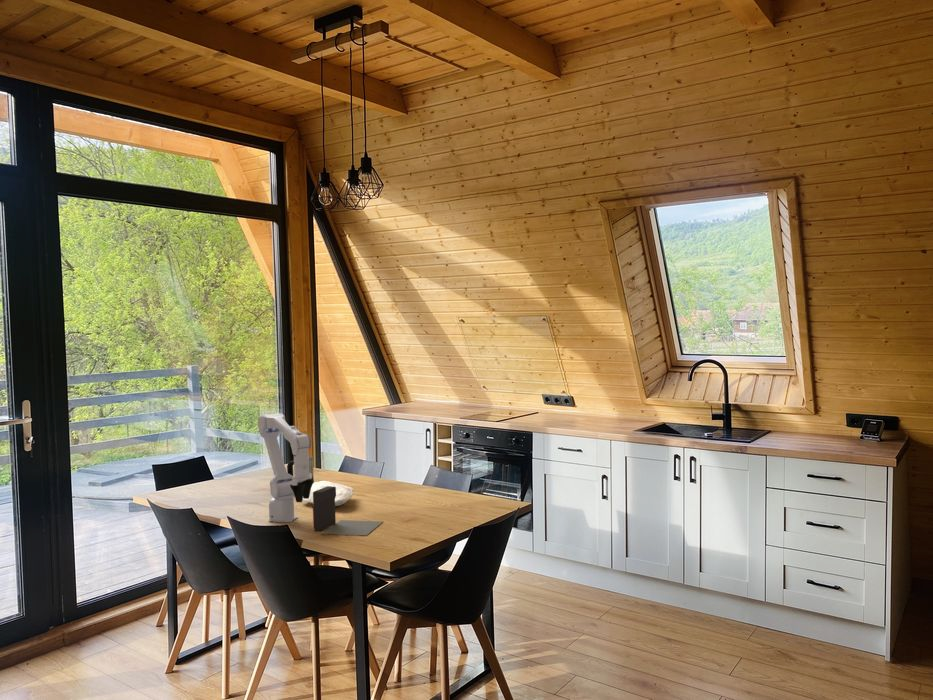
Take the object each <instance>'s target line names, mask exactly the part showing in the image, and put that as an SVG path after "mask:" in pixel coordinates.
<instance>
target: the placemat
mask: <svg viewBox="0 0 933 700" xmlns="http://www.w3.org/2000/svg"><path fill="white" fill-rule="evenodd" d="M383 523H384V521H381V520H380V521H377V520H375V521H374V520H351V519H350V520H345V519H342V520H341V519H340V520H339V521H337V522H336V524H334V525H332V526H330V527H328V528H326V529H324V530H323V531H322V532H320V535H321V534H324V535H325V534H326V535H325V536H329V535H328V534H331V535H330V536H348V535H360V536H359V537H367V536H368V535H370V534H371V533H372V532H373V531H374V530H376V529H377V528H378V527H379V526H380V524H381V525H382V524H383ZM375 528H376V529H375ZM371 531H372V532H371ZM370 532H371V533H370ZM332 534H333V535H332ZM361 535H362V536H361Z"/></svg>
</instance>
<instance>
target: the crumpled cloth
mask: <svg viewBox="0 0 933 700" xmlns="http://www.w3.org/2000/svg"><path fill="white" fill-rule="evenodd" d="M327 486H332V487H336V497H335V507H337V506H342V505H343V504H346V503H347V502H348V501H350V500H351V498H352V497H353V496H354V492H355V489H354V488H353V487H352V486H348V485H347V486H346V485H345V484H342V483H337V482H332V481H328V480H320V481H314V483H313V484H312V487H311V491H310V496H309V499H304V498H303V500H302V502H304V503H305V502H306V503H311V504H313V492H314V491H317V490H319V489H322V488H325V487H327Z"/></svg>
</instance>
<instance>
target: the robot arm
mask: <svg viewBox="0 0 933 700" xmlns="http://www.w3.org/2000/svg"><path fill="white" fill-rule="evenodd" d="M257 428H258V431H259V434H260V437H261V438H263V439H264V443H265V447H266V451H267V455H268V458H269V460H270V461H269V462H270V465H271V469H272V471H273V477H272V478H271V480H270V481H269V487H270V488H269V489H270V490H269V492H270V495H271V497H272V498H271V499H270V500H269V503H268V517H269V518H268V519H269V520H268V522H270V521H273V523H275V522H276V523H278V522H279V523H291V522H292V521H294V520H296V519H298V518H299V516H297V515H295V502H296V503H303V501H302V500H303V498H304V499H309V496H310V491H311V487H312V484H313V482H314V483H315V480H313V479H314V478H313V479H312V473H309V457H310V454H309V453H310V452H309V449H310V448H311V446H312V439H311V436H310V435H309V434H308V433H302V432H301V431H300V430H299V429H298V428H297V427H296V426H295V425H289V424H288V423H287V421H286V416H285V415H284V413H281V412H278V413H273V414H272V413H270V414H259V416H258V418H257ZM282 433H283V434H282ZM280 435H283V438H284V439H285V440H286V441H288V442H289V443H290V447H291V452H292V455H293V460H294V464H293V476H292V475H290V474H288V473H287V467H286V465H285V461H284V458H283V453H282V450H281V447H280V444H279V440H278V437H279V436H280ZM294 498H295V501H294Z"/></svg>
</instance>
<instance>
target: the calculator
mask: <svg viewBox="0 0 933 700" xmlns="http://www.w3.org/2000/svg"><path fill="white" fill-rule="evenodd" d="M335 497H336V487H332V486H327V487H325V488H322V489H319V490H317V491H314V492H313V503H312V517H313V518H312V519H313V521H312V523H313V524H312V525H313V530H314V531H316V532H317V531H318V532H321V531H322V532H323V531H325V530H327V529H328V528H330V527H331V526H333V525H334V524H336V523H337V522H336V506H335Z"/></svg>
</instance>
